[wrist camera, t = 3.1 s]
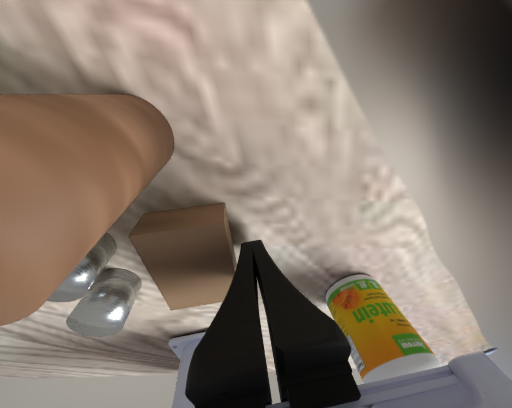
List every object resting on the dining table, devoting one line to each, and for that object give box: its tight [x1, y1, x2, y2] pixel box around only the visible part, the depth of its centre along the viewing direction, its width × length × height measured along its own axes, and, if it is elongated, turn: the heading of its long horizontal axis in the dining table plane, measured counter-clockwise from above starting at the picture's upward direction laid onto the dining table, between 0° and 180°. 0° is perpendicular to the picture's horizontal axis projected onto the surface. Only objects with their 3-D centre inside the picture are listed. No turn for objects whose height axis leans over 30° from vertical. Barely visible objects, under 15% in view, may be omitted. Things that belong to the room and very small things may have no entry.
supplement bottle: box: [326, 274, 442, 384], centre depth 15 cm, size 5×5×10 cm
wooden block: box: [128, 203, 237, 310], centre depth 13 cm, size 7×5×2 cm
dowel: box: [0, 94, 174, 326], centre depth 6 cm, size 4×4×8 cm
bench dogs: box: [46, 233, 142, 337], centre depth 12 cm, size 7×3×3 cm, turn 6°
